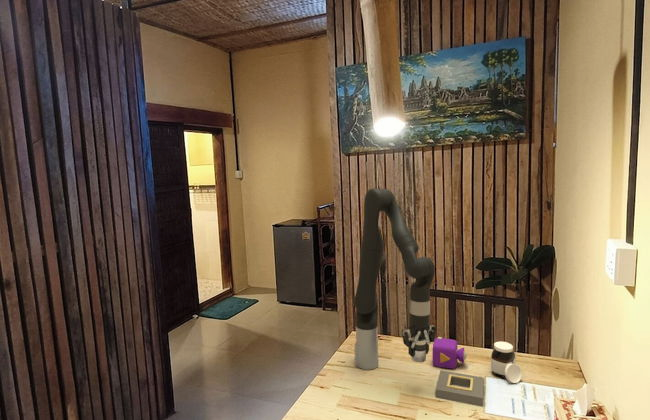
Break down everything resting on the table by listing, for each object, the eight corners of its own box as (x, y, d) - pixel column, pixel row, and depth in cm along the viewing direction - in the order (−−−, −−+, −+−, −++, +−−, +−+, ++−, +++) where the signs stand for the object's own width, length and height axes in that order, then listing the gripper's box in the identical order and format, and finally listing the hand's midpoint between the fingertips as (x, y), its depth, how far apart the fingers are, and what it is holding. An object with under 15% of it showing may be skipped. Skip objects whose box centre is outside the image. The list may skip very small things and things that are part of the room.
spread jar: (498, 365, 164) (498, 338, 162) (527, 374, 156) (528, 346, 154) (485, 376, 156) (486, 348, 154) (515, 387, 147) (516, 358, 146)
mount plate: (435, 397, 143) (435, 387, 143) (440, 377, 156) (440, 369, 156) (482, 406, 137) (482, 396, 137) (484, 385, 150) (484, 376, 149)
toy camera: (468, 371, 160) (468, 348, 158) (433, 369, 162) (433, 346, 161) (464, 358, 170) (464, 336, 169) (431, 356, 173) (431, 334, 172)
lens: (409, 360, 146) (410, 339, 145) (412, 354, 151) (413, 333, 150) (424, 363, 144) (425, 342, 143) (427, 357, 149) (427, 336, 148)
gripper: (408, 317, 139) (407, 363, 142) (442, 311, 144) (441, 355, 146) (397, 310, 146) (396, 353, 149) (429, 305, 151) (429, 347, 153)
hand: (418, 354), depth 147 cm, fingers closed on lens, 5 cm apart
